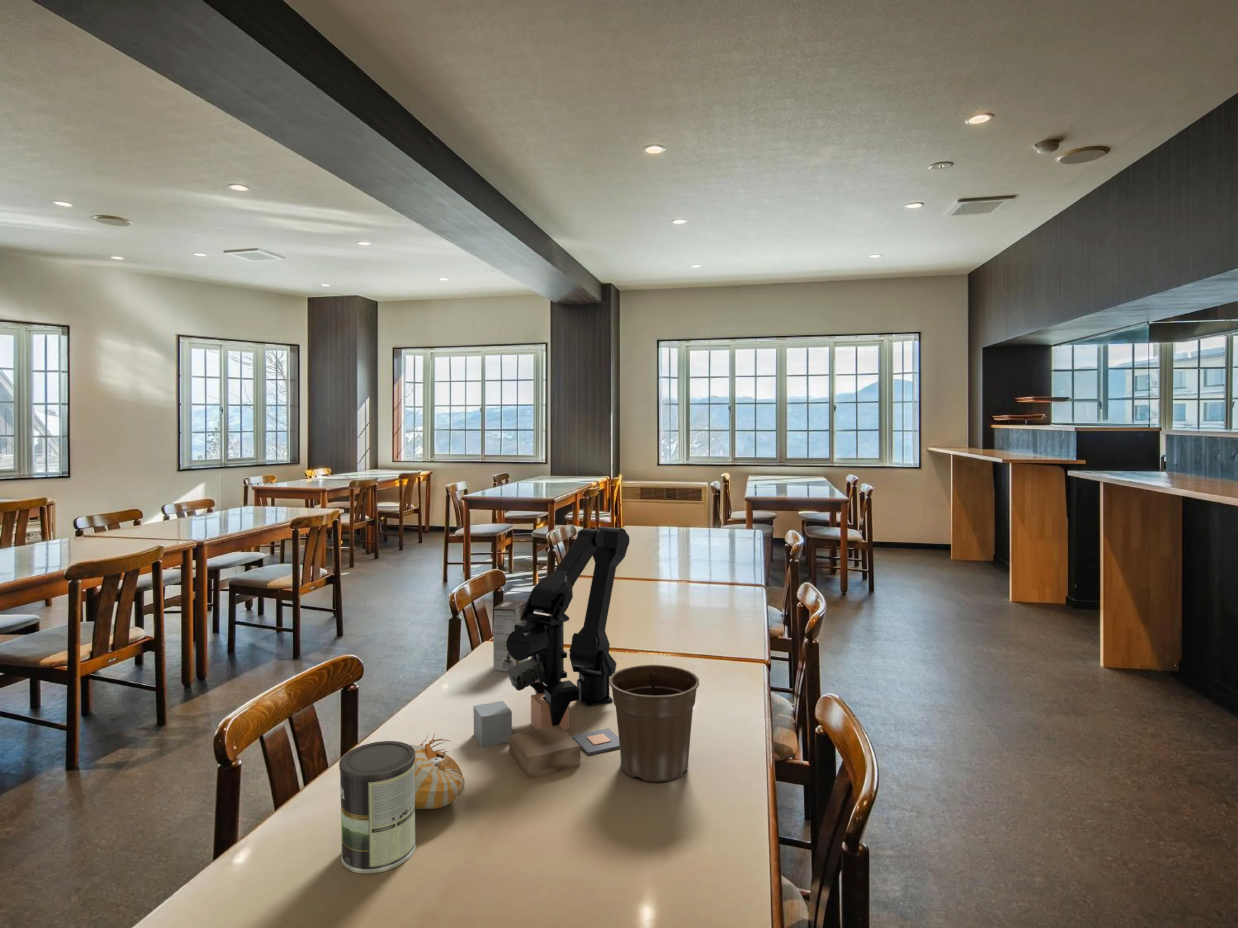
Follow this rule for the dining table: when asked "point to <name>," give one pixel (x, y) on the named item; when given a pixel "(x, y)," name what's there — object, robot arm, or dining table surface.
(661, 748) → the plant pot
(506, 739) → the slate grey cube
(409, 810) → the coffee can
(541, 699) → the terracotta cube
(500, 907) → the dining table surface
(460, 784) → the nautilus
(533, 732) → the tan block
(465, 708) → the dining table surface
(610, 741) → the card
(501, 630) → the coffee box
